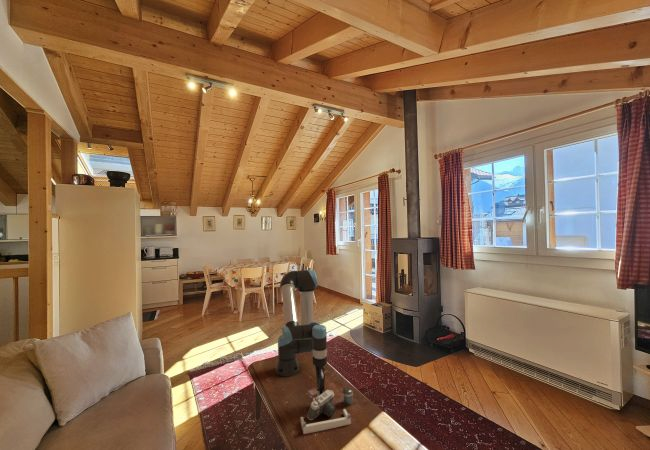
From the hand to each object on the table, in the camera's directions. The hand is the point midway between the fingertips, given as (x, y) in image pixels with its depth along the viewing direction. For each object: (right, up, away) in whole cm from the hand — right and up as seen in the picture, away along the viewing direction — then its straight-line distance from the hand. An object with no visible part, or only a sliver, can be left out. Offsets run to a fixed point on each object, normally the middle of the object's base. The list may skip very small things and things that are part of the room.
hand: (320, 401), depth 147 cm
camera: (+1, -2, -7) cm, 8 cm away
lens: (+14, -1, 0) cm, 14 cm away
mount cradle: (+3, -1, -14) cm, 15 cm away
